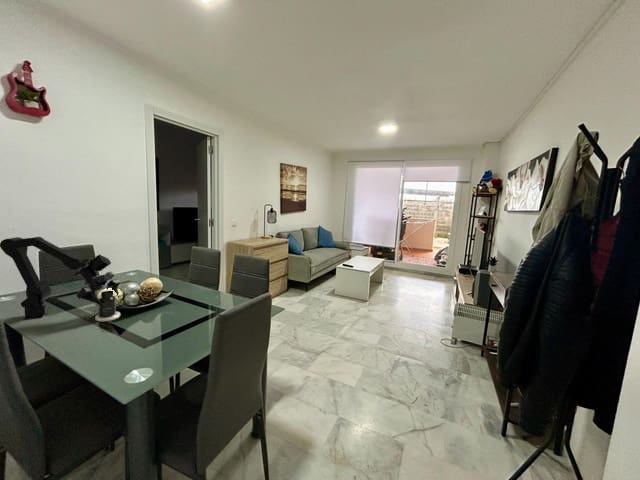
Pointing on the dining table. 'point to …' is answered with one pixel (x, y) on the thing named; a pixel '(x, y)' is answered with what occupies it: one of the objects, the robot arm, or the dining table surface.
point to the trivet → (107, 317)
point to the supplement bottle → (107, 304)
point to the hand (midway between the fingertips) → (110, 301)
